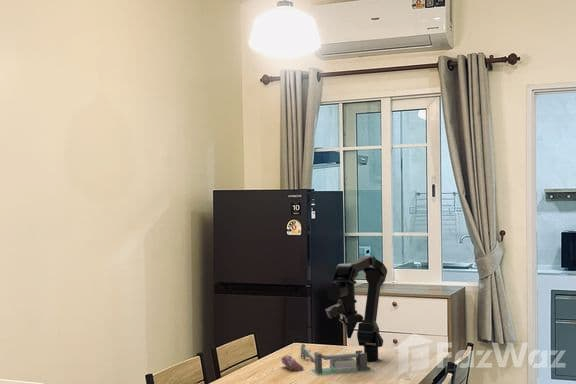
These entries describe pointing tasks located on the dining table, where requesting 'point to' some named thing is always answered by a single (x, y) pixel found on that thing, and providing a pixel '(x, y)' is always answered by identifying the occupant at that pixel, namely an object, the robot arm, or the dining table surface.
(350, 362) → the heatsink
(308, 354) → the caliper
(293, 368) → the purple rounded piece
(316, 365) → the post
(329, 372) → the board
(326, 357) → the strap
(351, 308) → the robot arm
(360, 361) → the hinge post
